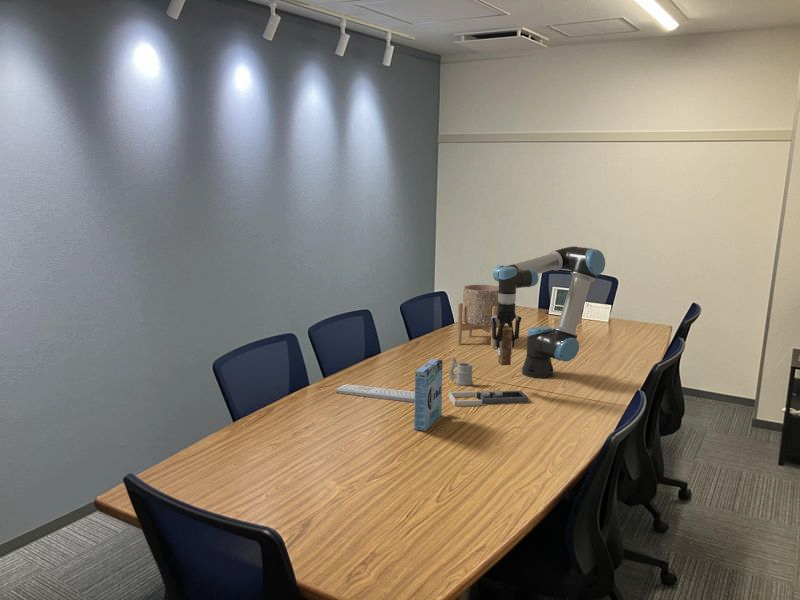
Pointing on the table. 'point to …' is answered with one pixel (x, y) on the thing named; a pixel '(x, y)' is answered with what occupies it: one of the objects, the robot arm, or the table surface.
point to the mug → (462, 373)
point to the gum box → (428, 394)
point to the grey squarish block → (484, 394)
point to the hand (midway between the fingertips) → (504, 354)
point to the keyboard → (377, 392)
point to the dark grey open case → (505, 398)
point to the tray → (464, 402)
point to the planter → (478, 310)
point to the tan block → (506, 346)
